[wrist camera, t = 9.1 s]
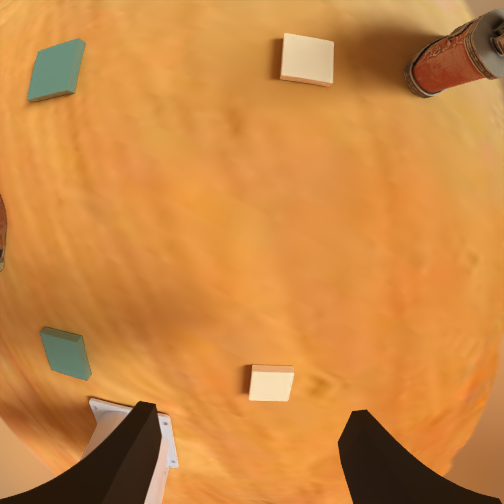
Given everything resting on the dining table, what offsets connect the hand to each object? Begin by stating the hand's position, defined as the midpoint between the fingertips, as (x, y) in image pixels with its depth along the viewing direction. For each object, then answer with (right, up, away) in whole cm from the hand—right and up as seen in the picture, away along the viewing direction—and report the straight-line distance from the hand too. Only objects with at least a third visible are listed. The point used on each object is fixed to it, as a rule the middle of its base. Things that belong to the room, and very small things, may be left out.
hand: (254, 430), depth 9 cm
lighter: (+13, +20, +5) cm, 25 cm away
